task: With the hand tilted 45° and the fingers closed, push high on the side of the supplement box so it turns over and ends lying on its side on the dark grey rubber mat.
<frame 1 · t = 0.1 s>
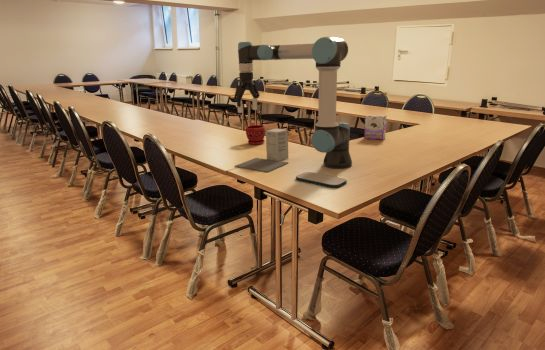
hand: (247, 111, 214), 28 cm above the table, tool pointing down, fingers open, 13 cm apart
grey rubber mat: (261, 165, 209), on the table
supplement box: (277, 159, 222), on the table
candy box: (374, 138, 270), on the table
external hard drive: (320, 182, 180), on the table
plant pot: (255, 143, 264), on the table
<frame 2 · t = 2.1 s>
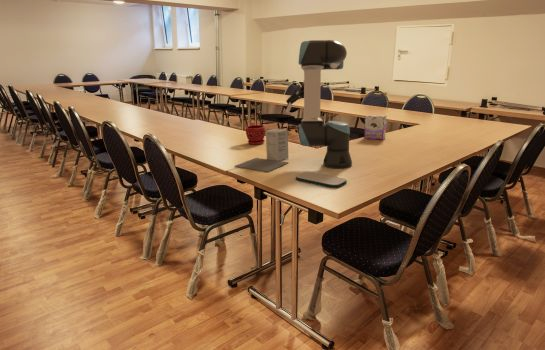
hand: (296, 112, 234), 24 cm above the table, tool tilted 45°, fingers open, 13 cm apart
nothing on the table moved.
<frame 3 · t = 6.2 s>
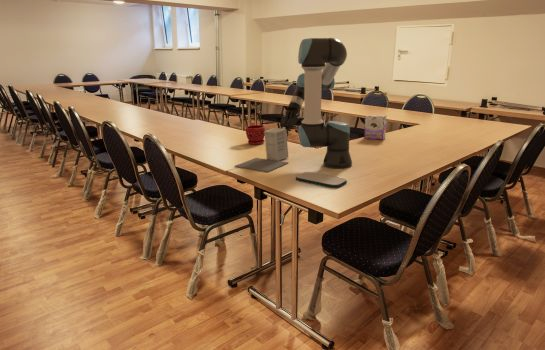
hand: (281, 137, 223), 12 cm above the table, tool tilted 45°, fingers closed
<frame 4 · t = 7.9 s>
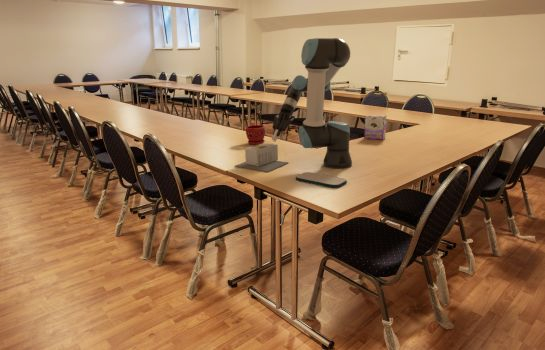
hand: (273, 140, 216), 12 cm above the table, tool tilted 45°, fingers closed
supplement box: (272, 151, 218), point 5 cm above the table, touching grey rubber mat
everything else where it was.
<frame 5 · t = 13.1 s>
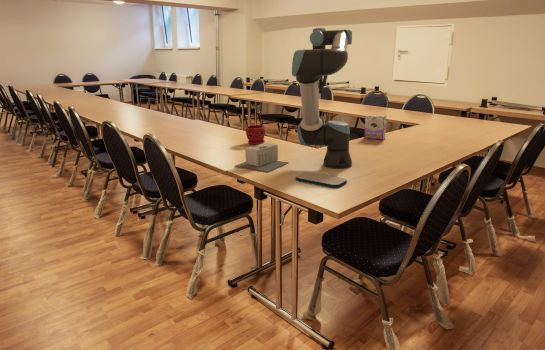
hand: (318, 99, 224), 32 cm above the table, tool pointing down, fingers closed
nothing on the table moved.
at the end: supplement box tilted 90°; supplement box touching grey rubber mat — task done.
